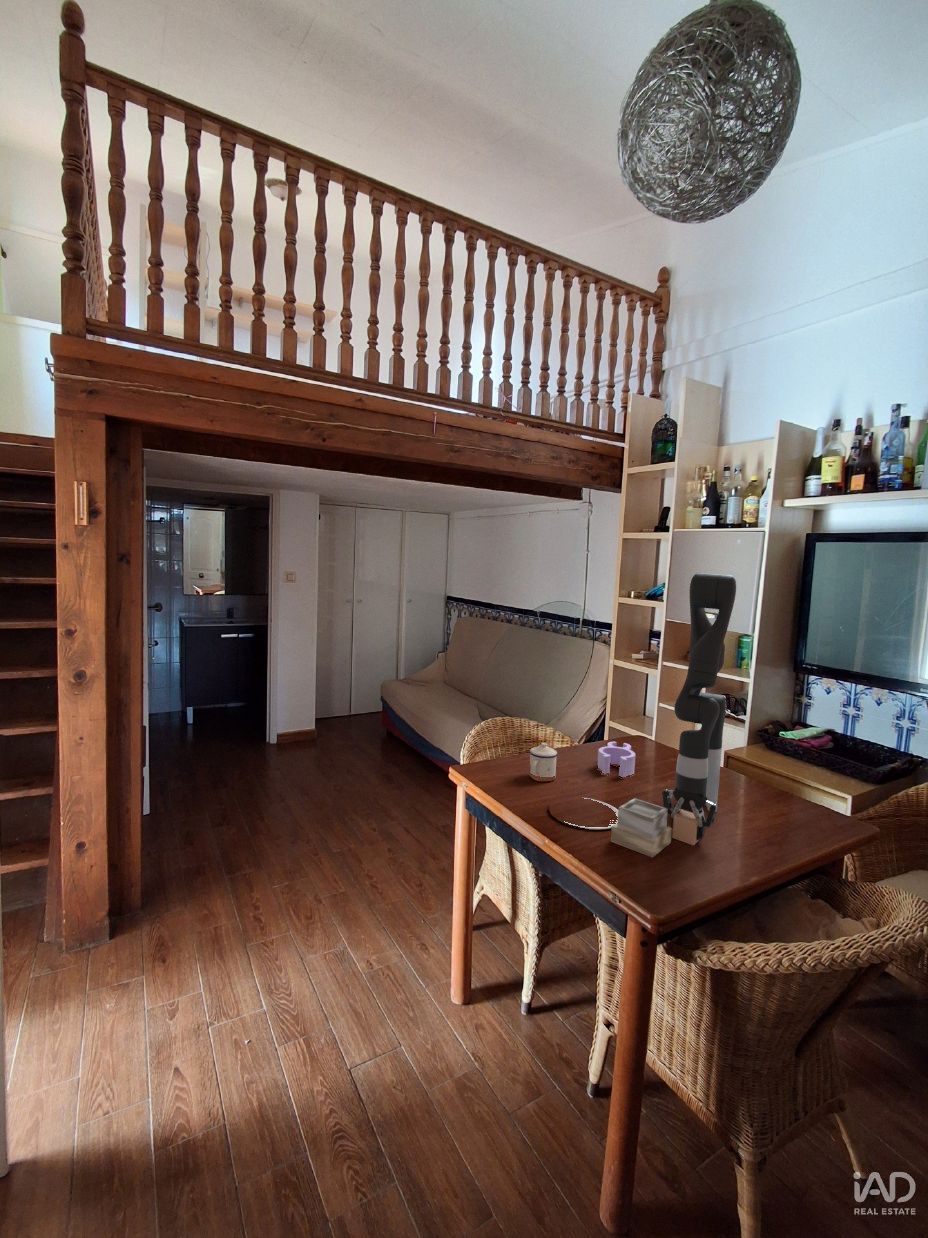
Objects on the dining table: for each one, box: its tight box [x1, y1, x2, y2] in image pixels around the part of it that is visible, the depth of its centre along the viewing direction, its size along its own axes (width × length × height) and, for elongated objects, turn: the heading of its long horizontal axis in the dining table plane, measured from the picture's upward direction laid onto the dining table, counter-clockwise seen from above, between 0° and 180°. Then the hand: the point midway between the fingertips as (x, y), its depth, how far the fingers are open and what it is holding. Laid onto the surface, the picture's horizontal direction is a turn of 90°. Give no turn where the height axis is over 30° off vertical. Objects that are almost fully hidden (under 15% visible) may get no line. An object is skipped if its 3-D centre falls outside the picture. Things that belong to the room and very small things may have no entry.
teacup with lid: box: [528, 742, 558, 777], centre depth 183 cm, size 12×9×12 cm
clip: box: [597, 741, 636, 778], centre depth 197 cm, size 20×12×7 cm, turn 159°
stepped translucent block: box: [610, 797, 673, 859], centre depth 142 cm, size 11×11×9 cm
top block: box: [671, 809, 700, 846], centre depth 145 cm, size 6×6×6 cm
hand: (686, 835), depth 145 cm, fingers closed on top block, 5 cm apart
